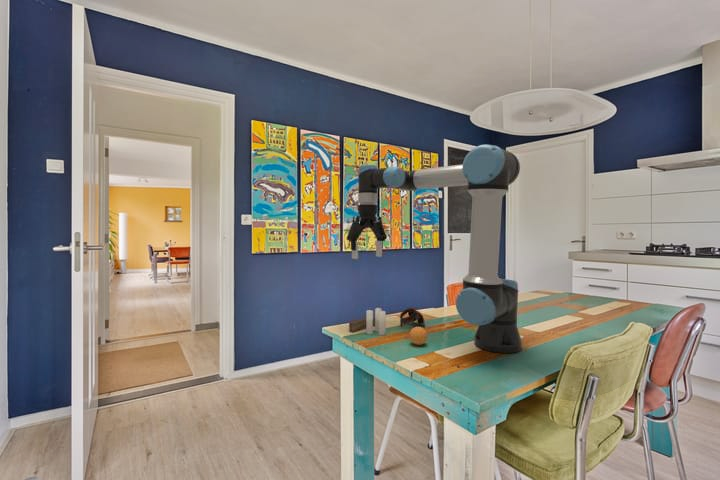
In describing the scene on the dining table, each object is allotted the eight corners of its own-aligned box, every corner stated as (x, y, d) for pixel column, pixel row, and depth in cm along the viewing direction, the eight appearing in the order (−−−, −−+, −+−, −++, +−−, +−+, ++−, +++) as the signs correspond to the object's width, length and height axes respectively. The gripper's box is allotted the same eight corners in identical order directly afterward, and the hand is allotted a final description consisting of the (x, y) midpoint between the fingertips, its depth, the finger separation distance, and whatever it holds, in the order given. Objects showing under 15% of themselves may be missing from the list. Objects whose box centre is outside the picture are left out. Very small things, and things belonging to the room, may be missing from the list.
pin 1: (374, 333, 135) (374, 310, 135) (369, 334, 134) (370, 312, 133) (369, 332, 137) (369, 309, 137) (364, 333, 135) (365, 310, 135)
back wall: (375, 325, 146) (375, 317, 145) (352, 332, 136) (352, 323, 136) (371, 324, 147) (371, 316, 147) (349, 331, 137) (349, 322, 137)
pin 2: (382, 330, 139) (382, 308, 139) (378, 331, 137) (378, 309, 137) (377, 329, 141) (378, 307, 140) (373, 330, 139) (373, 308, 139)
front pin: (386, 334, 135) (386, 311, 134) (382, 335, 133) (382, 312, 132) (381, 332, 136) (381, 310, 136) (377, 334, 134) (377, 311, 134)
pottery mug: (428, 330, 141) (419, 313, 139) (406, 339, 143) (397, 323, 141) (425, 315, 153) (416, 299, 151) (404, 323, 155) (396, 308, 153)
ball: (430, 344, 124) (430, 327, 124) (420, 348, 119) (421, 330, 119) (415, 340, 128) (416, 323, 128) (405, 344, 123) (406, 327, 123)
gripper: (382, 205, 155) (381, 255, 156) (337, 203, 138) (337, 258, 139) (395, 205, 150) (394, 256, 150) (351, 202, 132) (350, 260, 133)
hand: (367, 257), depth 144 cm, fingers open, 13 cm apart
